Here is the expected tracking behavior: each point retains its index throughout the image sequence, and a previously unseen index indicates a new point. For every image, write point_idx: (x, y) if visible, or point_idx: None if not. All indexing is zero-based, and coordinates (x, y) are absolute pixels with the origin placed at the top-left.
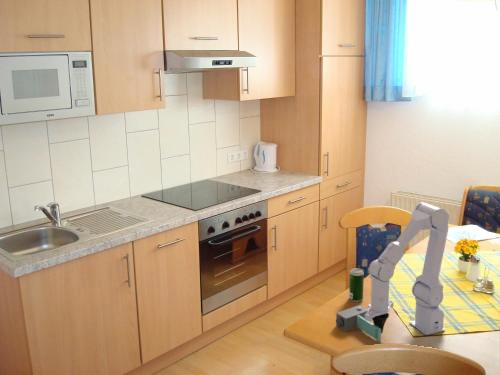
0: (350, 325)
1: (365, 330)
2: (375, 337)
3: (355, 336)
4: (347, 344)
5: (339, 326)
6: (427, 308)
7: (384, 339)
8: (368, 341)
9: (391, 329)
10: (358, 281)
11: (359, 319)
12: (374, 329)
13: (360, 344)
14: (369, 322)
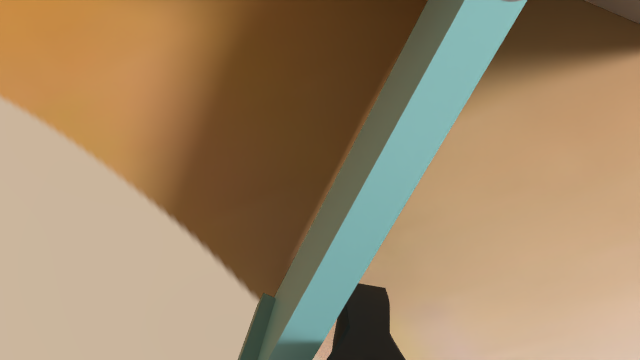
0: None
1: (357, 144)
2: (257, 305)
3: (241, 50)
4: (26, 54)
5: None
6: None
7: None
8: (233, 218)
9: (611, 322)
10: None
11: (445, 16)
12: (271, 338)
13: (127, 174)
14: (335, 274)
